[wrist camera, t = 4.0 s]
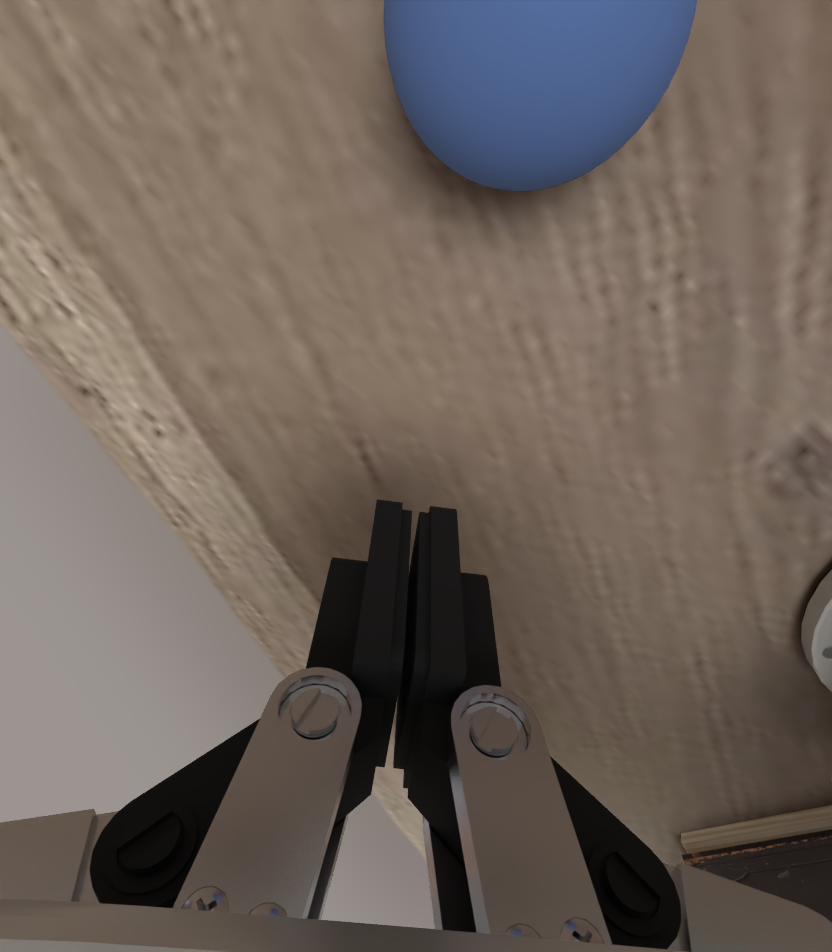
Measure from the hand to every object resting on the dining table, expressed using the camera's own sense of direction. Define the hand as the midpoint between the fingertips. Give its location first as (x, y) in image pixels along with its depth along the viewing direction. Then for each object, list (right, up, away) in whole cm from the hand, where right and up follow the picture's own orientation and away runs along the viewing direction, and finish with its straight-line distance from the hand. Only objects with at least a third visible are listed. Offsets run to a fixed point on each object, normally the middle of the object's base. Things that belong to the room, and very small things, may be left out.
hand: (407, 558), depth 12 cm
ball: (+3, +11, -1) cm, 11 cm away
